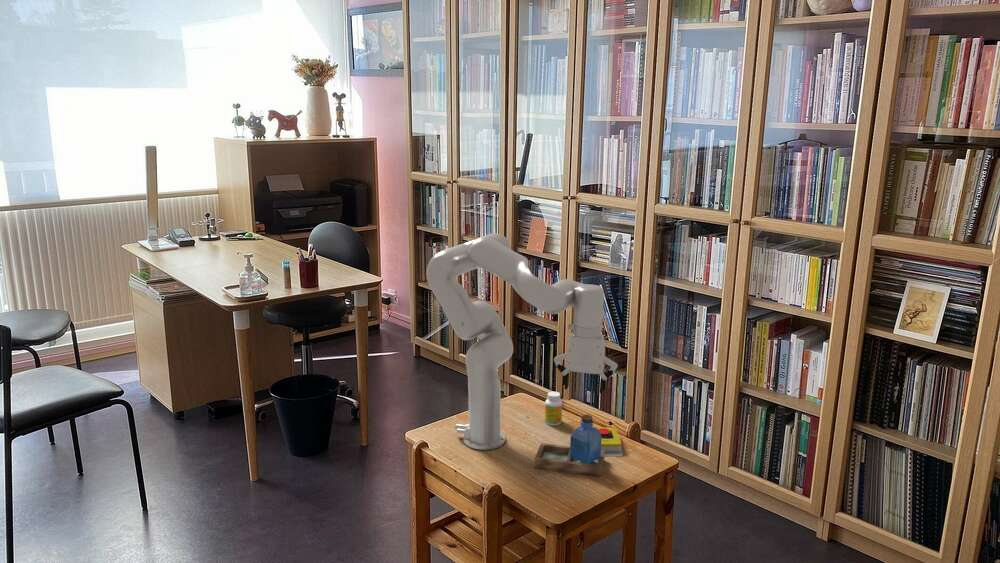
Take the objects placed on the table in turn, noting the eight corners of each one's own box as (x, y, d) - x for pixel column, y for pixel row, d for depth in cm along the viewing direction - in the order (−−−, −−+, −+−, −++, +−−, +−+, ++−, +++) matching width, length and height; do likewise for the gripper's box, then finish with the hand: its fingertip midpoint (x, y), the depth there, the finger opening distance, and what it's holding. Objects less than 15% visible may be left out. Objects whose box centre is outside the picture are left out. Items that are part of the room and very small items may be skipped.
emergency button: (615, 421, 222) (624, 444, 208) (614, 434, 223) (623, 457, 209) (585, 421, 222) (592, 443, 207) (584, 434, 223) (591, 457, 208)
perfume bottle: (582, 449, 206) (583, 410, 203) (600, 455, 202) (602, 416, 199) (569, 457, 201) (571, 417, 198) (588, 464, 197) (590, 423, 195)
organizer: (534, 468, 201) (534, 459, 200) (540, 452, 210) (541, 442, 210) (600, 477, 197) (601, 467, 196) (604, 459, 206) (604, 450, 205)
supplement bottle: (544, 425, 228) (545, 397, 225) (544, 418, 233) (545, 390, 230) (561, 426, 227) (562, 397, 225) (561, 418, 233) (562, 390, 230)
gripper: (553, 331, 192) (550, 391, 196) (618, 338, 188) (614, 399, 193) (557, 323, 199) (555, 381, 204) (621, 329, 195) (616, 388, 200)
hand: (583, 389), depth 198 cm, fingers open, 9 cm apart
